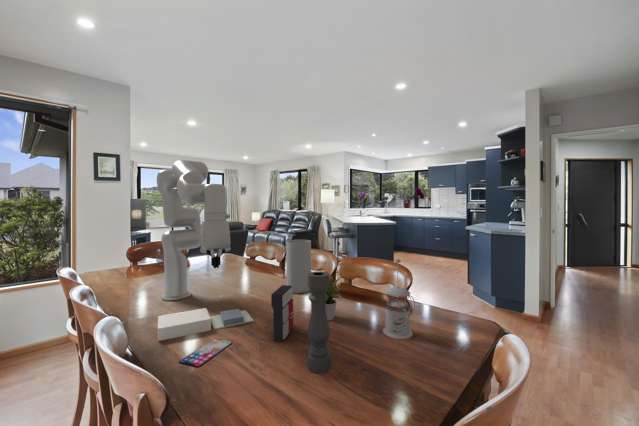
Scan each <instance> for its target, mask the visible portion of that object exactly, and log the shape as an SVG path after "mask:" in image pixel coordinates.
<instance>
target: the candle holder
mask: <svg viewBox="0 0 639 426" xmlns="http://www.w3.org/2000/svg"><path fill="white" fill-rule="evenodd" d="M329 276H330V273H329V272H327V271H311V272H310V273H308V287H309V290H310V291H309V292H310V295H309V296H308V300H309V301H310V302H311V308H310V309H311V313H310V318H309V322H308V327H307V331H306V332H307V337H308V339H309V341H310V346H309V347H308V349H307V351H308V353H307V358H306V359H307V364H306V365H307V369H308V371H309V372H310V373H313V374H316V375H318V374H319V375H320V374H325V373H328V372H329V371H330V370H331V367H332V364H331V363H332V359H331V357H332V355H331V352H330V347H329V345H328V340H329V338H331V337H330V336H331V329H330V324H329V320H328V319H327V315H326V301H327V300H328V296H327V295H326V292H327V290H328V287H329Z"/></svg>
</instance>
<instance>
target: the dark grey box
mask: <svg viewBox="0 0 639 426" xmlns="http://www.w3.org/2000/svg"><path fill="white" fill-rule="evenodd" d="M293 294H294V293H293V288H292V286H290V285H287V284H282V285H281V286H280V287H277V289H276V290H275V291H274V292H273V293H271V295H270V296H271V299H270V300H271V307H272V310H273V311H272V312H273V316H272V318H273V323H272V324H273V341H275V342H283V341H284V340H285V339H286V338H287V337H288V335H289V333H290V332H291V331H292V329H293V327H294V299H293V297H294V295H293Z"/></svg>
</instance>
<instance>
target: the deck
mask: <svg viewBox="0 0 639 426" xmlns="http://www.w3.org/2000/svg"><path fill="white" fill-rule="evenodd" d="M211 330H212V324H211V318H210V314H209V311H208V309H207V307H204V308H197V309H192V310H186V311H181V312H175V313H167V314H162V315H158V317H157V342H161V341H165V340H170V339H176V338H179V337H185V336H189V335H193V334H199V333H204V332H209V331H211Z"/></svg>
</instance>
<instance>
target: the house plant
mask: <svg viewBox="0 0 639 426" xmlns="http://www.w3.org/2000/svg"><path fill="white" fill-rule="evenodd" d="M343 278H344V277H343V276H340V277H339V278H337V279H336V280H332V279H331V276H330V275H329V287H328V290H327V292H326V295H327V296H328V300H327V301H326V315H327V319H328V321H331V320H334V318H335V315H336V309H337V307H336V306H337V300H336V299H340V297H342V294H341V293H338V292H339V291H340V290H341V289H342V287H340V288H338V287H339V286H340V285H341V284H344V283H345V284H346V283H347V281H341V282H338V281H340V280H341V279H343ZM337 283H338V284H337ZM337 288H338V289H337ZM339 296H340V297H339Z"/></svg>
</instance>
